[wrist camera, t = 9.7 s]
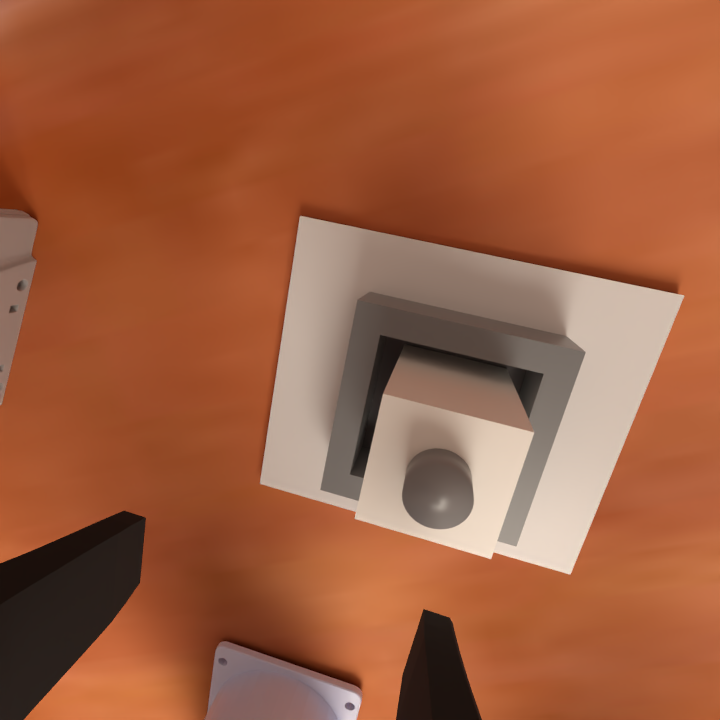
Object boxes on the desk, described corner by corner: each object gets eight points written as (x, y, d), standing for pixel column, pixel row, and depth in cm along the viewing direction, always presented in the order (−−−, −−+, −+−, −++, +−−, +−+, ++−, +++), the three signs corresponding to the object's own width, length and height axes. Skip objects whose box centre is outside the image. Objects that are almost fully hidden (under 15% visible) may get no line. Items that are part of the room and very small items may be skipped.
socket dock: (567, 567, 19) (587, 622, 17) (263, 479, 21) (235, 515, 18) (679, 294, 16) (726, 305, 13) (303, 216, 18) (275, 212, 15)
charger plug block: (478, 460, 18) (494, 584, 12) (383, 434, 19) (346, 540, 12) (506, 368, 17) (541, 449, 11) (405, 344, 18) (377, 406, 11)
